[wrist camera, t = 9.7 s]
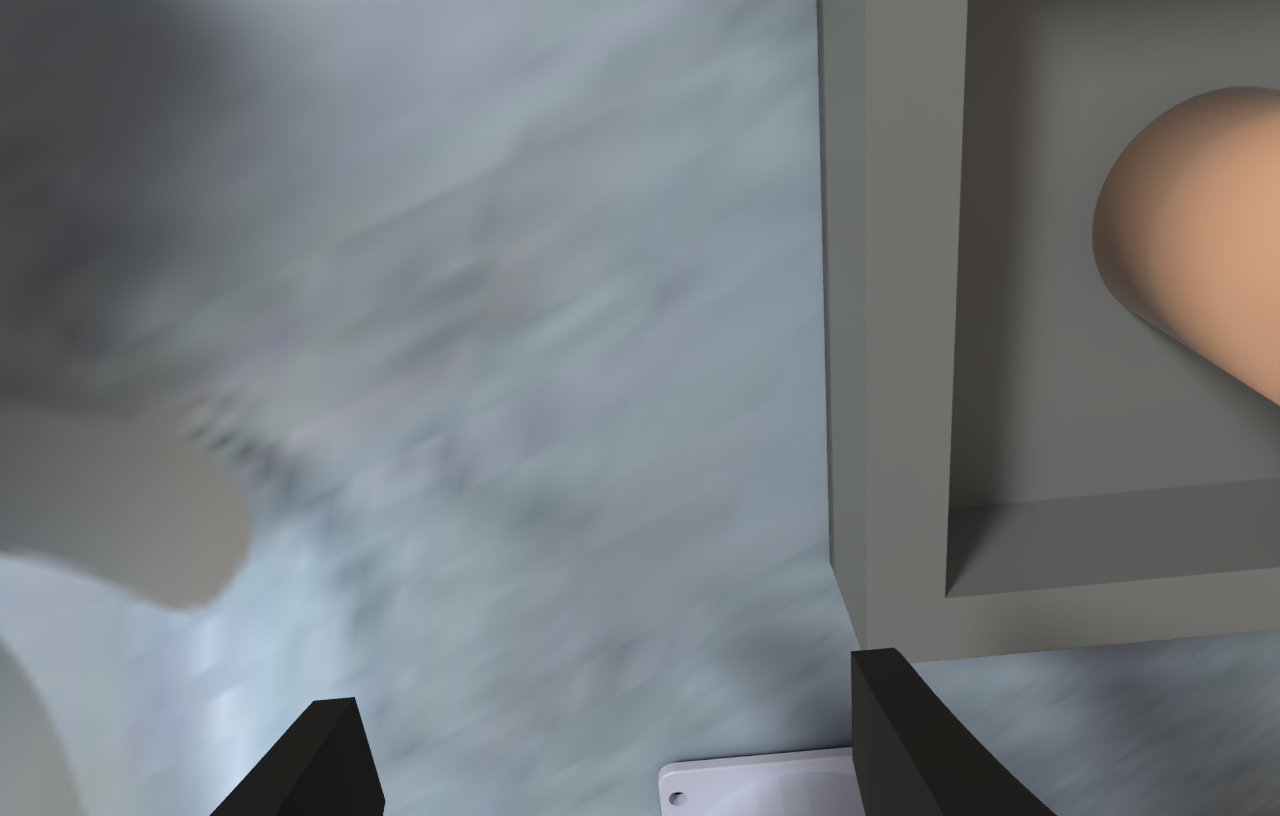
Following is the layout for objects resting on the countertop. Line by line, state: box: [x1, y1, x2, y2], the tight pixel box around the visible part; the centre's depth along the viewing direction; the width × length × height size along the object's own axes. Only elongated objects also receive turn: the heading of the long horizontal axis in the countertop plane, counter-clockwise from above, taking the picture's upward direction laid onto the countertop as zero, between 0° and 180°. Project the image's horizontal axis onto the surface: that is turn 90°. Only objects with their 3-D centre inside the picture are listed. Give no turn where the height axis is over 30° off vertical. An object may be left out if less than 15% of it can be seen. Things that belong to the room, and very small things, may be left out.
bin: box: [817, 0, 1280, 663], centre depth 18 cm, size 16×16×4 cm
